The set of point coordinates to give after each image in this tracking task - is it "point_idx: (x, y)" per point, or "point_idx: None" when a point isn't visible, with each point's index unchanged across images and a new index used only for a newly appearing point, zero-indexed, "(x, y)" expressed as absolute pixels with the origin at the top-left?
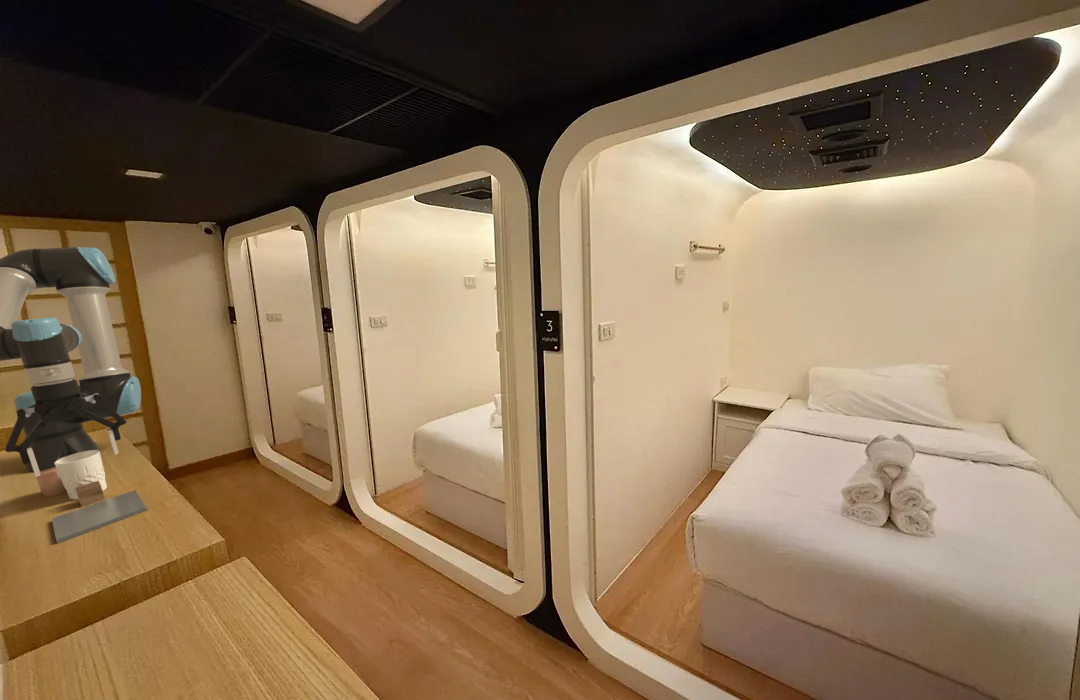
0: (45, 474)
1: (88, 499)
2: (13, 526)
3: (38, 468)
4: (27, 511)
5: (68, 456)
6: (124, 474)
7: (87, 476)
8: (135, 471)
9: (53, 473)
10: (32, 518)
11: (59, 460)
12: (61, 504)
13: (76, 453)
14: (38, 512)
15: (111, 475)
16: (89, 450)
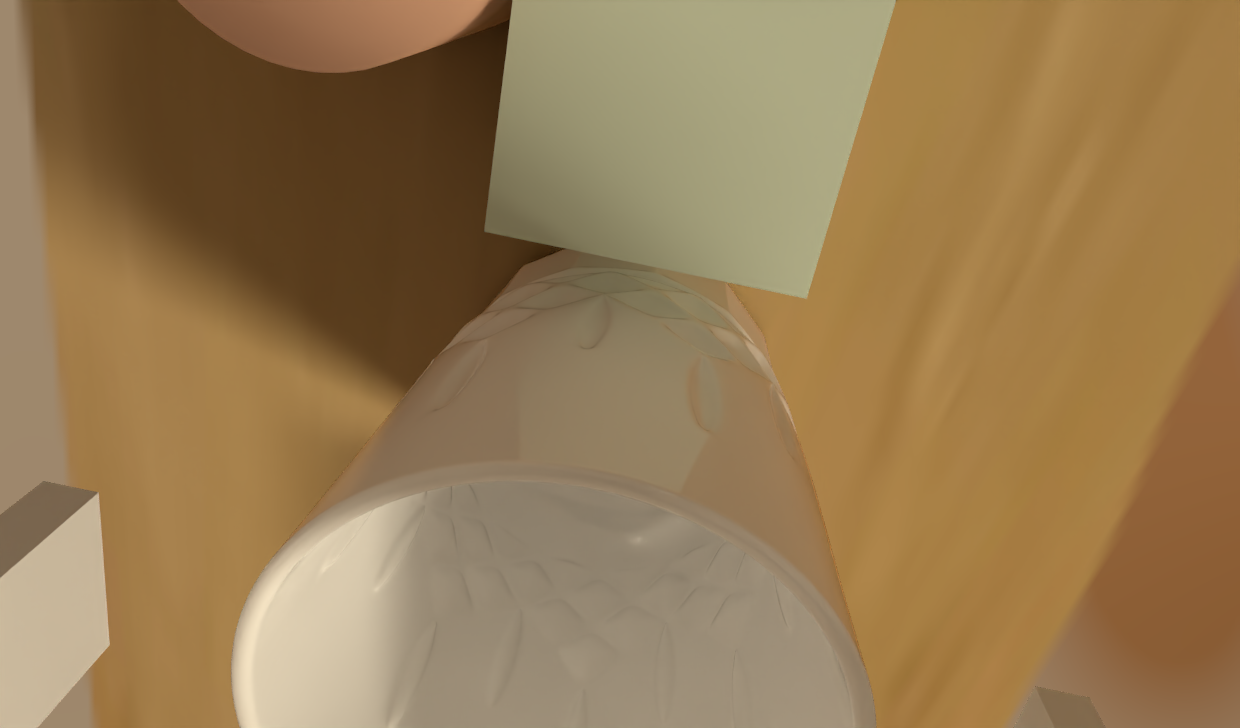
0: (226, 37)
1: None
2: None
3: (37, 595)
4: (171, 253)
5: (468, 480)
6: (1046, 194)
7: (584, 680)
8: (1148, 237)
9: (330, 72)
10: (204, 491)
11: (318, 538)
12: None
13: (606, 486)
14: (243, 400)
15: (982, 20)
16: (800, 598)
